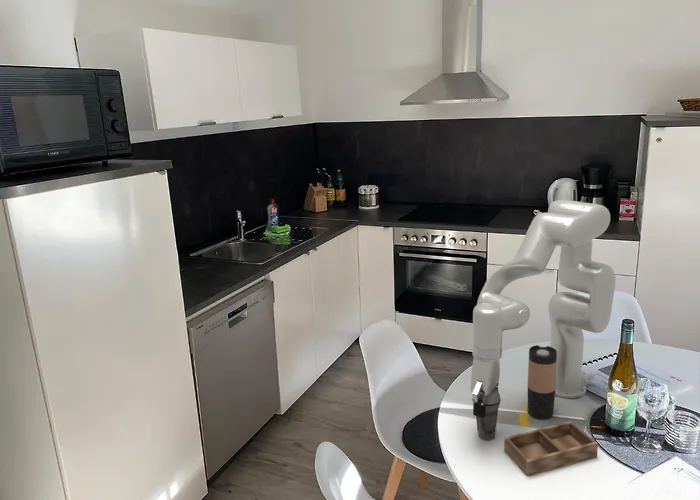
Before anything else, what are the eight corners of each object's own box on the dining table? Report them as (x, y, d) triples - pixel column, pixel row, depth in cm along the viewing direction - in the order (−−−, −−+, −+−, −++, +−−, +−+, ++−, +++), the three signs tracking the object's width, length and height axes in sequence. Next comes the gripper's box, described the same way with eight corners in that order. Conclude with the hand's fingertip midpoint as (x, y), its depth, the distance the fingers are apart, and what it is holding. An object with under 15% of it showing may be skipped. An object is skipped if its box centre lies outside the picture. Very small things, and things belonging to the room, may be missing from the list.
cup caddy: (569, 434, 152) (570, 421, 151) (596, 457, 142) (598, 443, 141) (504, 451, 147) (504, 437, 146) (527, 476, 137) (527, 461, 136)
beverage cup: (500, 444, 150) (502, 377, 144) (473, 442, 151) (473, 376, 146) (499, 428, 156) (500, 364, 151) (472, 426, 158) (473, 363, 152)
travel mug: (540, 423, 158) (543, 359, 152) (521, 410, 164) (522, 349, 159) (560, 415, 161) (563, 352, 156) (540, 403, 168) (542, 342, 162)
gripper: (485, 335, 155) (483, 390, 160) (460, 360, 142) (460, 419, 146) (511, 340, 151) (509, 396, 156) (489, 366, 138) (488, 427, 142)
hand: (485, 407), depth 151 cm, fingers open, 9 cm apart
